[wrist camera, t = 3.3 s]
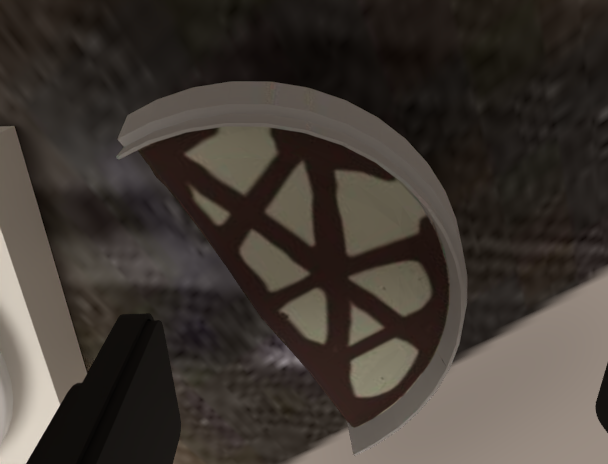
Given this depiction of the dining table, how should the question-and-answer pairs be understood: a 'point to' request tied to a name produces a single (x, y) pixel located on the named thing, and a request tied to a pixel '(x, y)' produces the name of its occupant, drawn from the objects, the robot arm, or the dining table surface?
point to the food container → (321, 235)
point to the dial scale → (29, 315)
